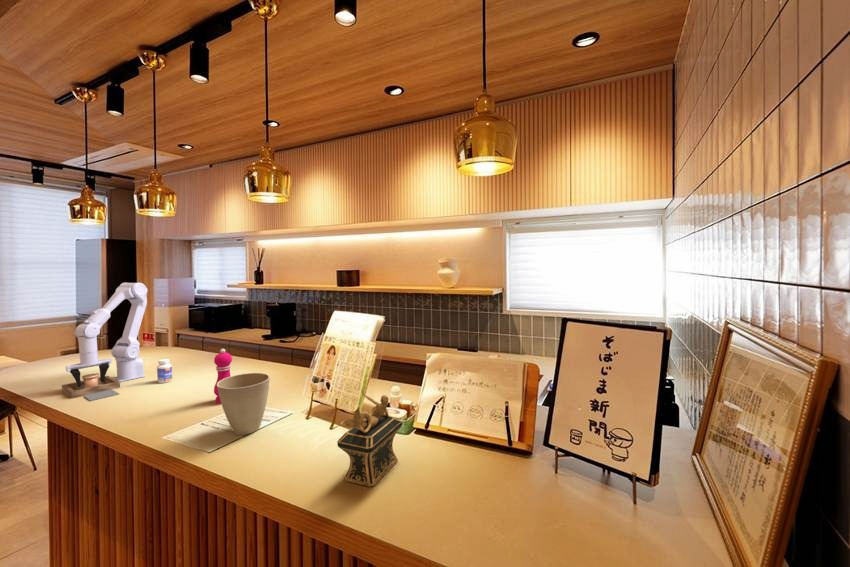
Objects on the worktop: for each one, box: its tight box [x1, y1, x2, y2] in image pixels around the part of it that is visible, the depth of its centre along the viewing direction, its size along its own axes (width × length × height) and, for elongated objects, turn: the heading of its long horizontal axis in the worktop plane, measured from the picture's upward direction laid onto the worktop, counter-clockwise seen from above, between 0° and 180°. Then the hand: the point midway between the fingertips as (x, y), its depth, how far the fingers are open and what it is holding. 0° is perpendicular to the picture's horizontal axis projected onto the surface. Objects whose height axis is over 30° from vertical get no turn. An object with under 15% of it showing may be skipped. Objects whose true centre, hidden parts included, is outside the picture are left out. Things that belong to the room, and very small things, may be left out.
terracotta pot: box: [81, 373, 100, 389], centre depth 161 cm, size 5×5×6 cm
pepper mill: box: [213, 348, 233, 405], centre depth 145 cm, size 7×7×20 cm
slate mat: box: [83, 389, 120, 402], centre depth 154 cm, size 9×9×1 cm
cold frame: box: [61, 375, 121, 399], centre depth 161 cm, size 15×15×2 cm
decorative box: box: [336, 388, 403, 488], centre depth 94 cm, size 20×10×20 cm, turn 157°
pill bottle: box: [156, 358, 173, 384], centre depth 170 cm, size 5×5×10 cm
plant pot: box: [217, 372, 271, 436], centre depth 119 cm, size 15×15×16 cm
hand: (91, 384), depth 161 cm, fingers open, 7 cm apart
